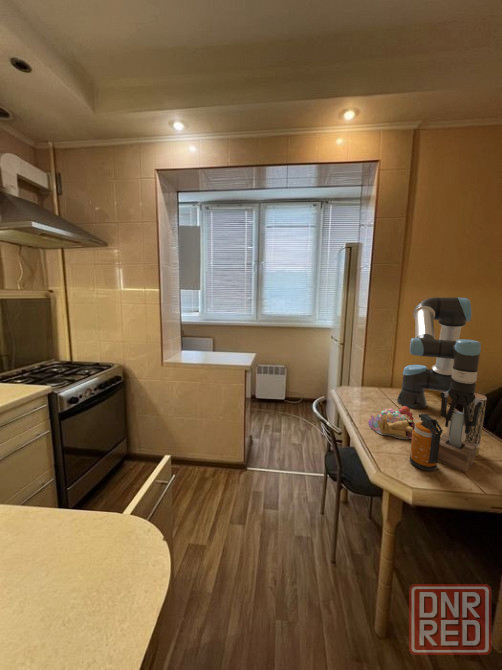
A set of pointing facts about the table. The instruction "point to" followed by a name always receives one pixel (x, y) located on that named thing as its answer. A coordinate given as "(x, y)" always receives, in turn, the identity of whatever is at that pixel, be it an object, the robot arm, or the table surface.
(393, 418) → the candy landscape model
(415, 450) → the canister
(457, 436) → the dowel
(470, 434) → the bark covered log
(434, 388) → the robot arm
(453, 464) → the hollow walnut box
